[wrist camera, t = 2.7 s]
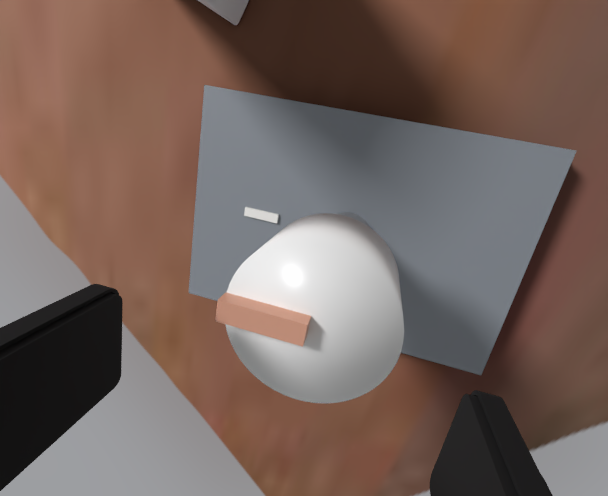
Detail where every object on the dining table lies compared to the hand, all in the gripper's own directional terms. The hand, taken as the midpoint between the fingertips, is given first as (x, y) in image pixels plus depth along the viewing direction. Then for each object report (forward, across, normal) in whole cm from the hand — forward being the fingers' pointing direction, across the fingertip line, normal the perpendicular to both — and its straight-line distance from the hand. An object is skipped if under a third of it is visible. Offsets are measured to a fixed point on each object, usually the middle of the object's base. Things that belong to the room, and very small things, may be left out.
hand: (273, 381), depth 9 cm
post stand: (+17, -1, -1) cm, 17 cm away
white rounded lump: (+6, 0, 0) cm, 7 cm away
